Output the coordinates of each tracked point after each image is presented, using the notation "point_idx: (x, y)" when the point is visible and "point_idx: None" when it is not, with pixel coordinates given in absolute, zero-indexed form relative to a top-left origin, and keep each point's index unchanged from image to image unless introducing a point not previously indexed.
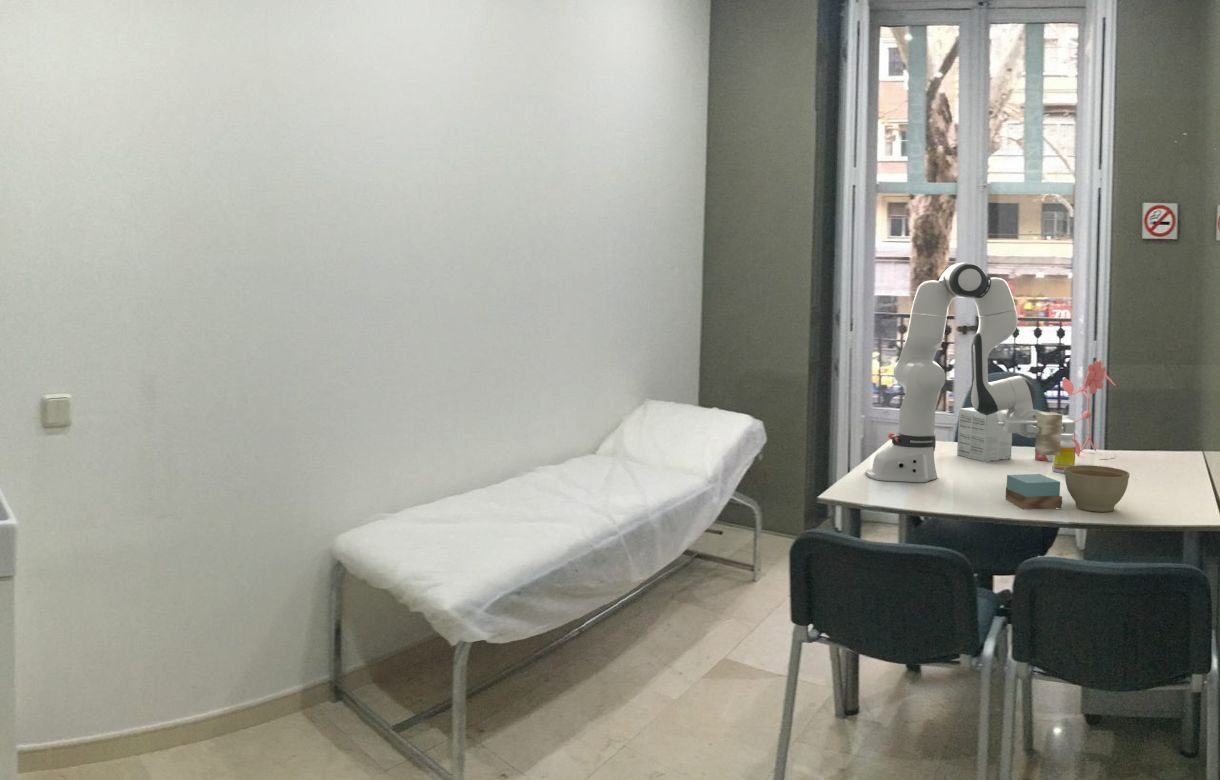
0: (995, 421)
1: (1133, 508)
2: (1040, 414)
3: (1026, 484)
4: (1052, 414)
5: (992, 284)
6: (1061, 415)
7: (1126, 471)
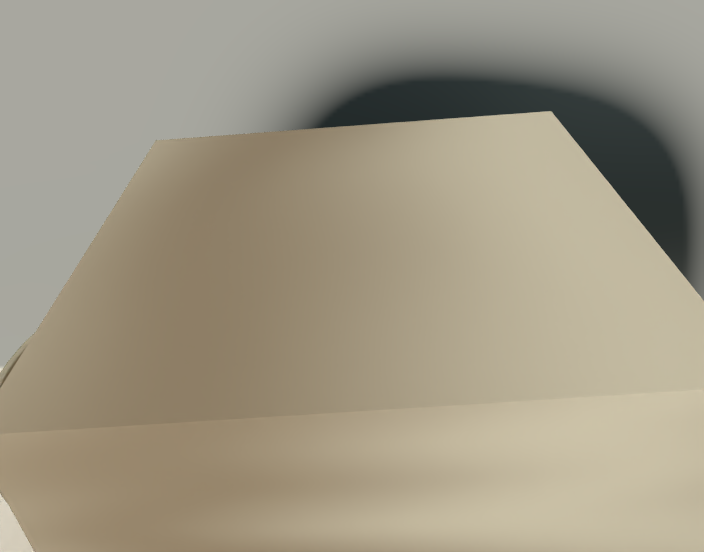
0: None
1: (20, 540)
2: (635, 261)
3: None
4: (350, 153)
5: None
6: (178, 149)
7: (13, 358)
